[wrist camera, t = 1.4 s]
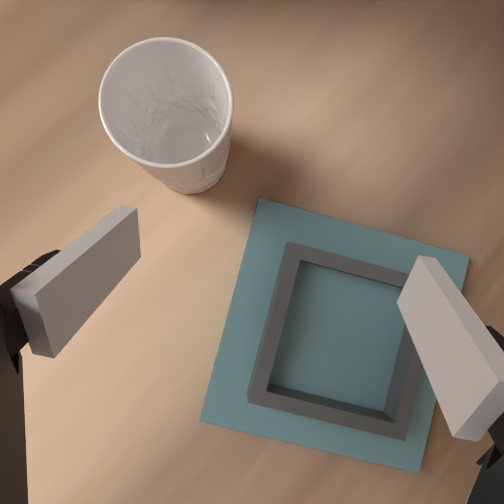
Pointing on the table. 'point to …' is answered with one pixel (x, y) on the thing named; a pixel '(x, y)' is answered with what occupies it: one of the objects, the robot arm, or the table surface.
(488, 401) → the robot arm
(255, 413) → the glass holder
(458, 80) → the table surface
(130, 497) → the table surface
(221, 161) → the white cup
